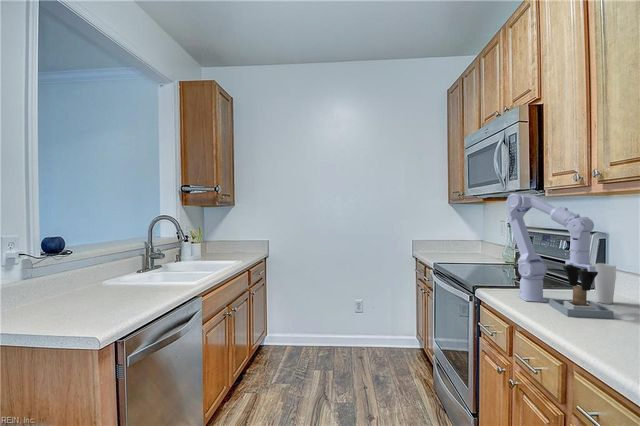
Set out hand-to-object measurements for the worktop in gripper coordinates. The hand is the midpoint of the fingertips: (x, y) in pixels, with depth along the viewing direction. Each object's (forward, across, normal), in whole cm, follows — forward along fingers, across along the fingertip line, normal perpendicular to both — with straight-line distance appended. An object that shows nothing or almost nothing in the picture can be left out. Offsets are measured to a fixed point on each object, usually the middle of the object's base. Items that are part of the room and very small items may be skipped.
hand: (579, 287), depth 127 cm
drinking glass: (+9, -14, +17) cm, 24 cm away
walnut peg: (+8, 0, 0) cm, 8 cm away
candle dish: (+9, 0, 0) cm, 9 cm away
